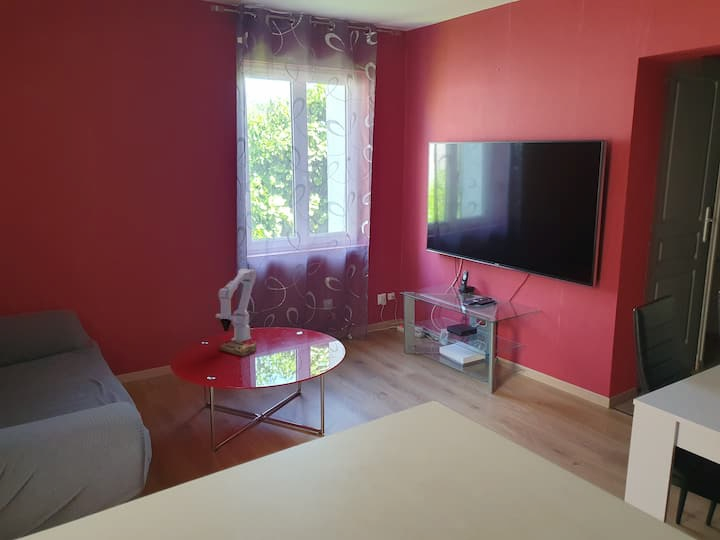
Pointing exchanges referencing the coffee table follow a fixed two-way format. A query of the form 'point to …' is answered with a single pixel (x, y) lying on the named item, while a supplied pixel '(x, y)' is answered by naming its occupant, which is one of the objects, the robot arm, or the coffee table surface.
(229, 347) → the board
